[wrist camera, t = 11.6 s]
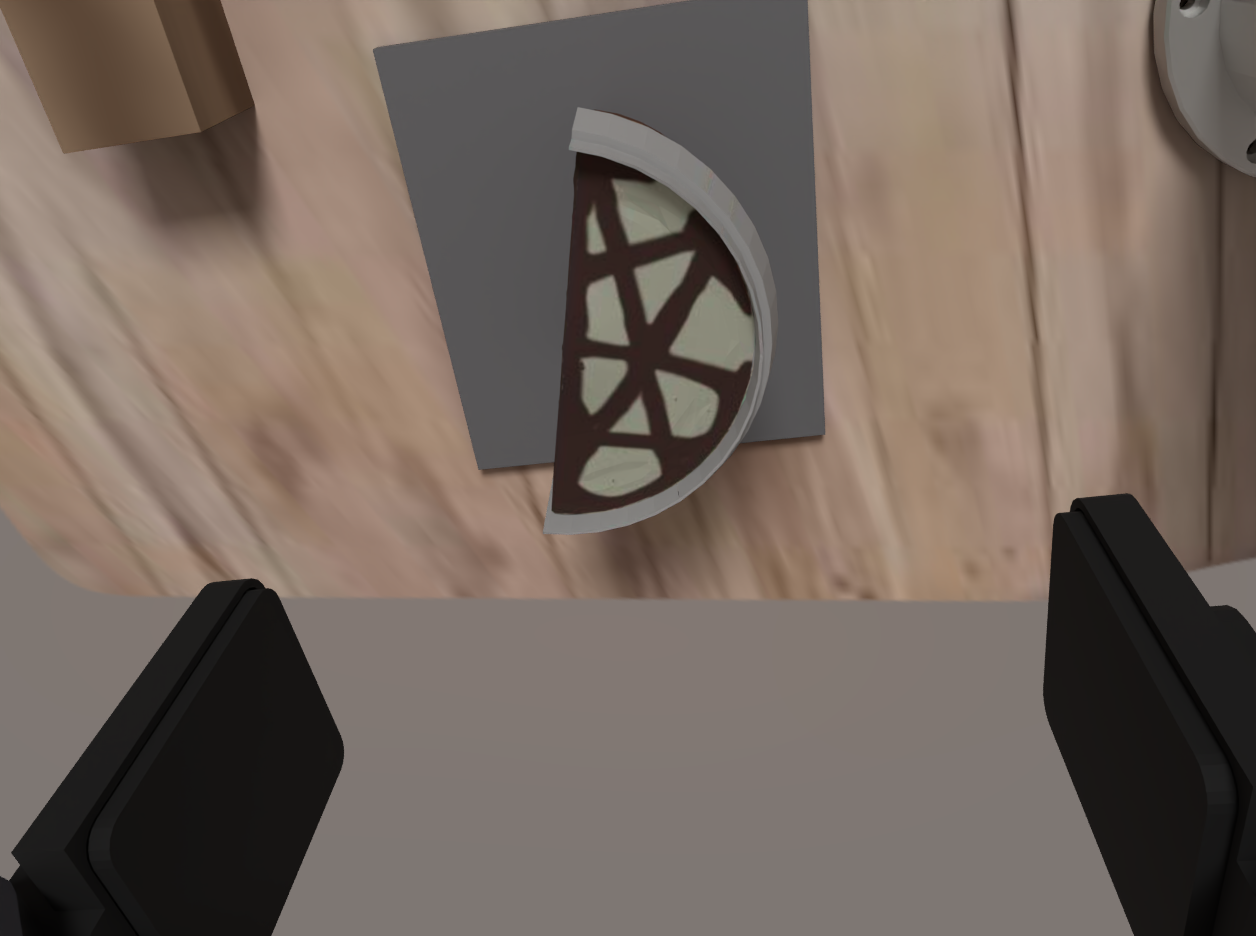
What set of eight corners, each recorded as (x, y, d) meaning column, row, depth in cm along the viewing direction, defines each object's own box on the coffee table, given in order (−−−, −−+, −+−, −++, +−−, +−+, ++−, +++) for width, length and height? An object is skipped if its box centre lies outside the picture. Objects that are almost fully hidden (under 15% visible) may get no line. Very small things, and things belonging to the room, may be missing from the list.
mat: (804, -17, 30) (806, -16, 30) (823, 427, 38) (825, 434, 38) (377, 47, 32) (372, 49, 31) (481, 462, 40) (478, 469, 39)
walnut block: (207, -42, 31) (141, -34, 27) (255, 104, 33) (200, 131, 29) (77, -19, 31) (-6, -7, 28) (133, 124, 34) (63, 153, 30)
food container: (728, 416, 38) (744, 569, 29) (571, 399, 38) (541, 548, 29) (785, 82, 31) (829, 152, 23) (597, 60, 31) (570, 123, 23)
